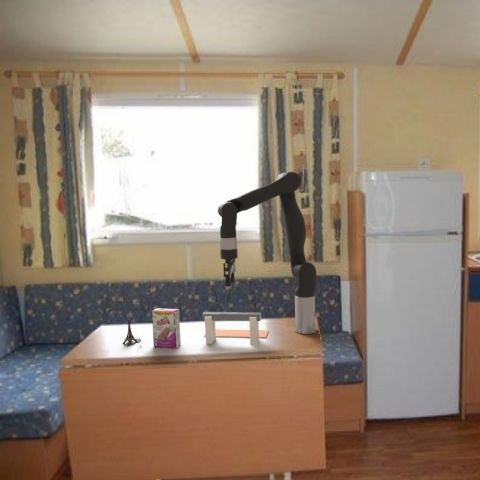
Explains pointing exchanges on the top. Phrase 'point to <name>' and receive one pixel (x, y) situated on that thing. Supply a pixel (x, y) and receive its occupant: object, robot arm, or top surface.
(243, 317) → the rail
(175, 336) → the candy bar box
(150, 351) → the top surface
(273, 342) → the top surface
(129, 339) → the eiffel tower figurine
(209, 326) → the stands
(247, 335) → the mat
